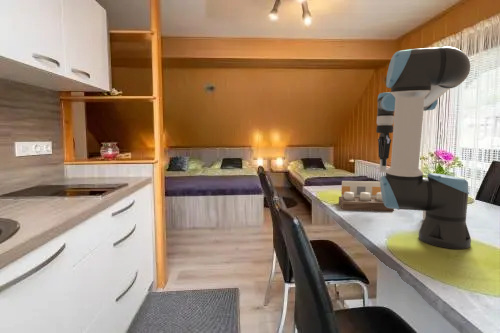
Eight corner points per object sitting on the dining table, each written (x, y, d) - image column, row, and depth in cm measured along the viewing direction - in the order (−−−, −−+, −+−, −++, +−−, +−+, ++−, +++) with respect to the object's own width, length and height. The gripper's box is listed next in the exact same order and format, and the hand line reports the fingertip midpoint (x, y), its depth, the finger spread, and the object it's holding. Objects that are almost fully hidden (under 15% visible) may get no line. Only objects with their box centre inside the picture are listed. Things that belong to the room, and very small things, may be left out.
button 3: (354, 202, 146) (355, 193, 146) (344, 201, 147) (345, 193, 147) (352, 199, 151) (352, 191, 151) (343, 199, 152) (343, 191, 151)
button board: (393, 211, 141) (394, 203, 140) (342, 209, 144) (343, 201, 144) (385, 205, 153) (385, 197, 152) (338, 203, 156) (338, 196, 155)
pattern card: (380, 203, 156) (381, 181, 154) (341, 202, 158) (341, 181, 157) (379, 203, 157) (380, 181, 156) (340, 202, 160) (341, 180, 158)
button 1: (388, 202, 144) (388, 194, 144) (377, 202, 145) (378, 194, 144) (384, 200, 149) (385, 192, 149) (375, 200, 150) (375, 192, 149)
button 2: (371, 202, 145) (371, 194, 145) (361, 202, 146) (361, 193, 146) (368, 200, 150) (369, 192, 150) (359, 200, 151) (359, 191, 150)
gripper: (397, 124, 136) (395, 174, 138) (388, 125, 149) (386, 170, 151) (381, 124, 137) (378, 173, 139) (373, 125, 150) (371, 170, 152)
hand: (382, 172), depth 145 cm, fingers closed
